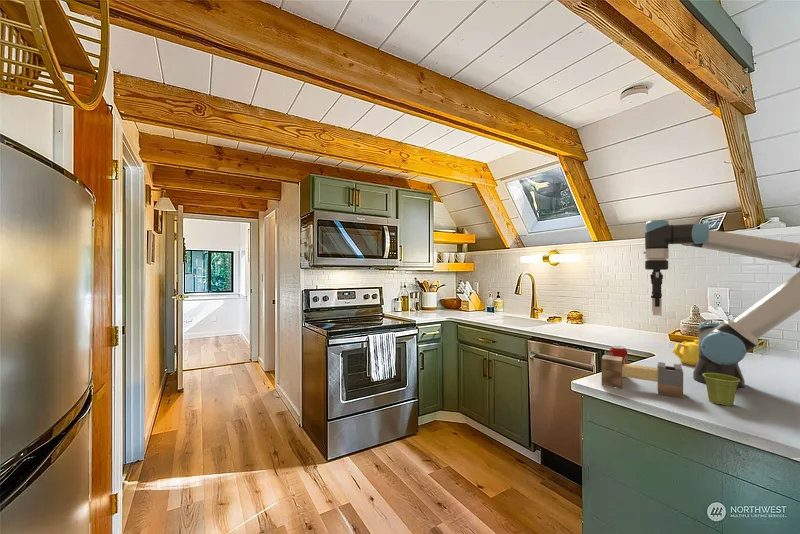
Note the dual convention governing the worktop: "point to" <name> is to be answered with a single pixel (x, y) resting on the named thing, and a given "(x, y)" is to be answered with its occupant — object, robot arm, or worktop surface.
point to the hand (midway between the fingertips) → (656, 313)
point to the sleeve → (670, 380)
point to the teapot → (688, 352)
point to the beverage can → (619, 353)
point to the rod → (640, 372)
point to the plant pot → (721, 388)
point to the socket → (612, 371)
